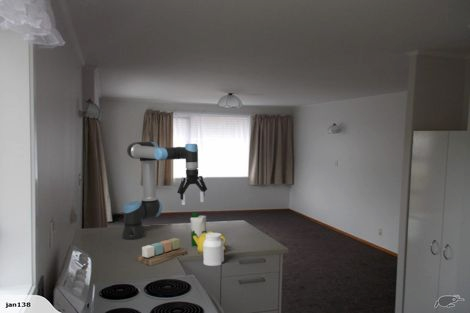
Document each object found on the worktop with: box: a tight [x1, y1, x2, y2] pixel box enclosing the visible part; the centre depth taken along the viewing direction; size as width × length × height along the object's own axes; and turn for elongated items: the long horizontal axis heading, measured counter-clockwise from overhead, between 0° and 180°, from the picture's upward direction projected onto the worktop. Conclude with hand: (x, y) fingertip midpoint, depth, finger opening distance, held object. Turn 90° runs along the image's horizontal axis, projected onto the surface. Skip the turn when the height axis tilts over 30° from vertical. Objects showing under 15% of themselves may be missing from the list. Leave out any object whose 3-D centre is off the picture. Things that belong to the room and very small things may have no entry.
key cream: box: [141, 244, 154, 258], centre depth 200 cm, size 5×5×5 cm
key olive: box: [167, 237, 181, 250], centre depth 214 cm, size 5×5×5 cm
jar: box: [202, 232, 225, 267], centre depth 197 cm, size 12×10×15 cm
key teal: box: [150, 242, 163, 255], centre depth 205 cm, size 5×5×5 cm
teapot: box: [193, 231, 227, 254], centre depth 216 cm, size 20×12×12 cm, turn 73°
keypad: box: [135, 247, 188, 267], centre depth 207 cm, size 14×25×2 cm, turn 139°
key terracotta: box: [159, 239, 172, 252], centre depth 209 cm, size 5×5×5 cm
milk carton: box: [190, 212, 207, 247], centre depth 229 cm, size 9×9×20 cm
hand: (192, 203), depth 227 cm, fingers open, 13 cm apart
